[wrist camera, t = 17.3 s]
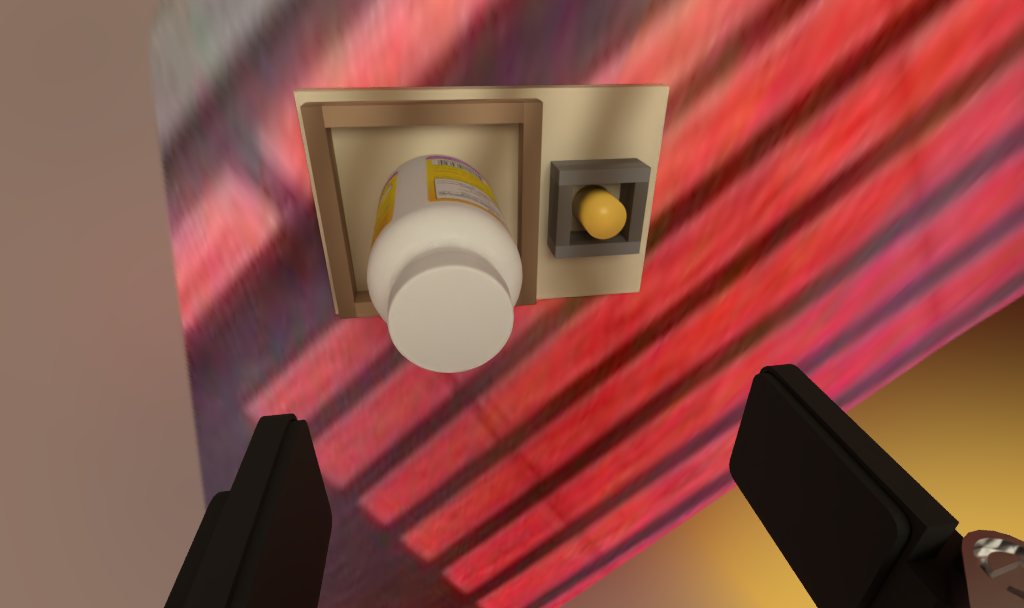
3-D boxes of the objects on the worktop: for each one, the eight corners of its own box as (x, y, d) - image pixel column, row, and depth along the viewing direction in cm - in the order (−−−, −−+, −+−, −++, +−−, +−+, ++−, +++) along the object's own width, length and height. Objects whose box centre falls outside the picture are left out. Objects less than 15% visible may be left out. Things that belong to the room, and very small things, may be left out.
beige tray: (660, 83, 30) (687, 91, 27) (633, 283, 36) (651, 307, 33) (298, 88, 27) (283, 97, 24) (338, 304, 33) (330, 332, 30)
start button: (613, 184, 30) (628, 197, 28) (609, 222, 32) (623, 238, 29) (574, 185, 30) (586, 199, 28) (571, 224, 31) (583, 240, 29)
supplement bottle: (408, 276, 32) (403, 416, 21) (358, 176, 28) (320, 281, 17) (510, 237, 31) (559, 359, 20) (472, 133, 28) (507, 211, 17)
